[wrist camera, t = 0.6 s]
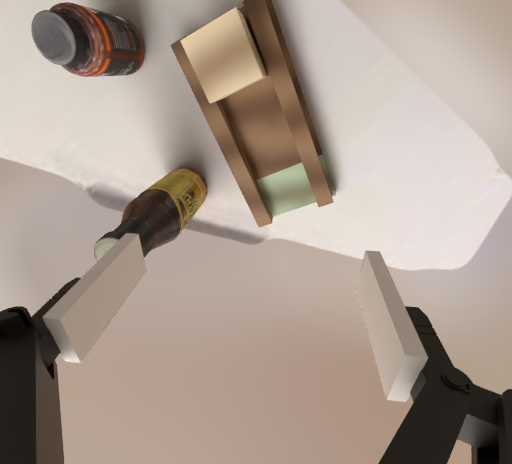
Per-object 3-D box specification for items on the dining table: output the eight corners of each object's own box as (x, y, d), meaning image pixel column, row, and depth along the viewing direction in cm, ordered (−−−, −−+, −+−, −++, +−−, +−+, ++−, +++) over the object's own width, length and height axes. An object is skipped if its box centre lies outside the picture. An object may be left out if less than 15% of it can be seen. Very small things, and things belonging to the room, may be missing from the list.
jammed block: (198, 45, 32) (180, 40, 27) (246, 17, 31) (235, 6, 25) (222, 98, 35) (209, 103, 30) (267, 76, 33) (262, 76, 28)
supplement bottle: (115, 3, 32) (36, -27, 23) (155, 48, 34) (99, 39, 24) (89, 46, 35) (8, 36, 25) (128, 86, 37) (67, 92, 27)
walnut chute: (176, 49, 34) (166, 47, 31) (269, -6, 30) (266, -14, 28) (257, 219, 44) (255, 228, 41) (335, 192, 40) (338, 200, 37)
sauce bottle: (204, 210, 44) (144, 300, 27) (165, 197, 44) (80, 278, 26) (214, 171, 41) (154, 245, 24) (172, 156, 40) (80, 220, 23)
